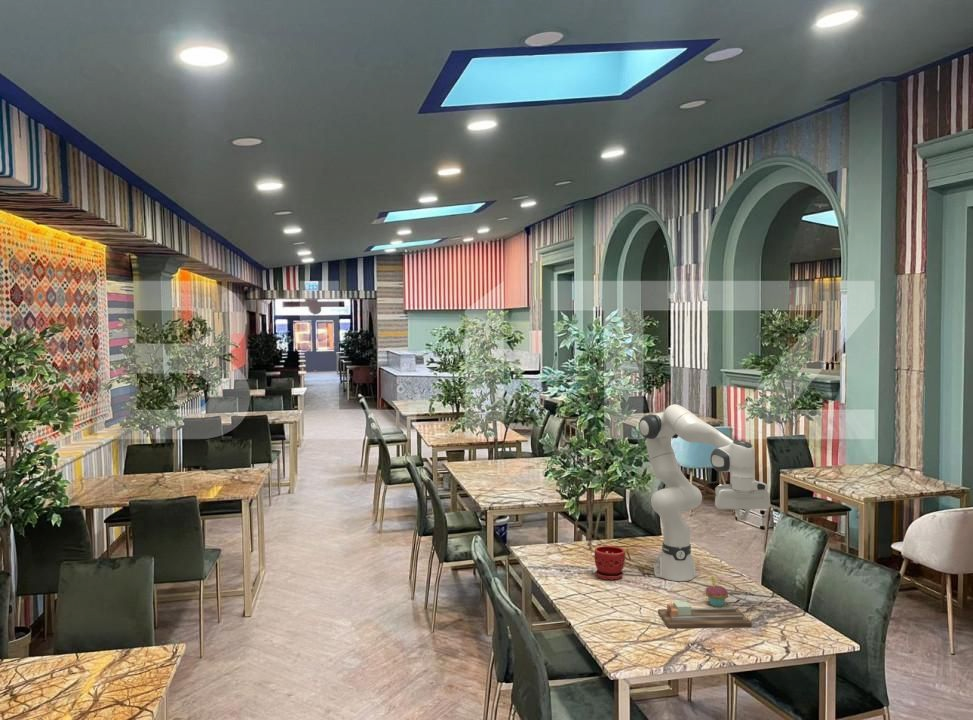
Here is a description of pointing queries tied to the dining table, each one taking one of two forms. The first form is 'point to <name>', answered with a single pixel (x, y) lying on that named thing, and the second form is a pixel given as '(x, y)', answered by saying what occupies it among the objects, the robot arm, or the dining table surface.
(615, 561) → the plant pot
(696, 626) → the guide board
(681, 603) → the block
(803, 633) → the dining table surface
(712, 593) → the cupcake
